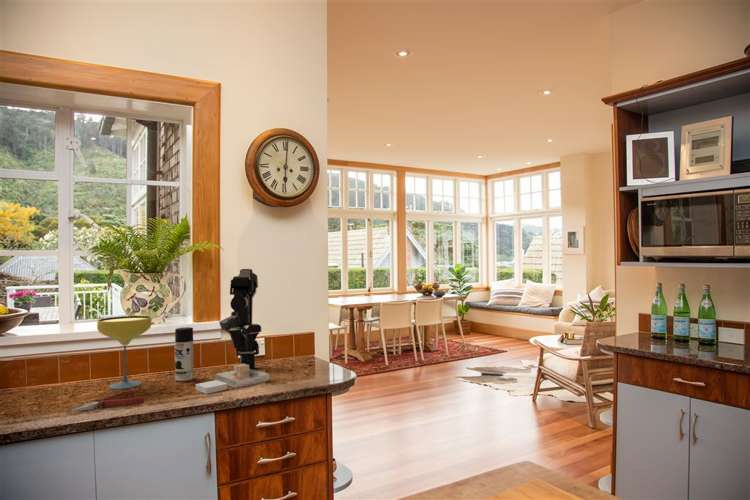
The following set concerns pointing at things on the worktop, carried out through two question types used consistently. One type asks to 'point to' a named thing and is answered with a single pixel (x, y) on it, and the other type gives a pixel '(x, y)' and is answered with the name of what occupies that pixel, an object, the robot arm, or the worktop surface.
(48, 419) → the worktop surface
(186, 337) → the spray can
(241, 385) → the plate
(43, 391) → the worktop surface
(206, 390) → the soap bar
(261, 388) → the worktop surface
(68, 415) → the worktop surface
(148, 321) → the cocktail glass
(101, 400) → the pliers
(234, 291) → the robot arm
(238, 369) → the peg
